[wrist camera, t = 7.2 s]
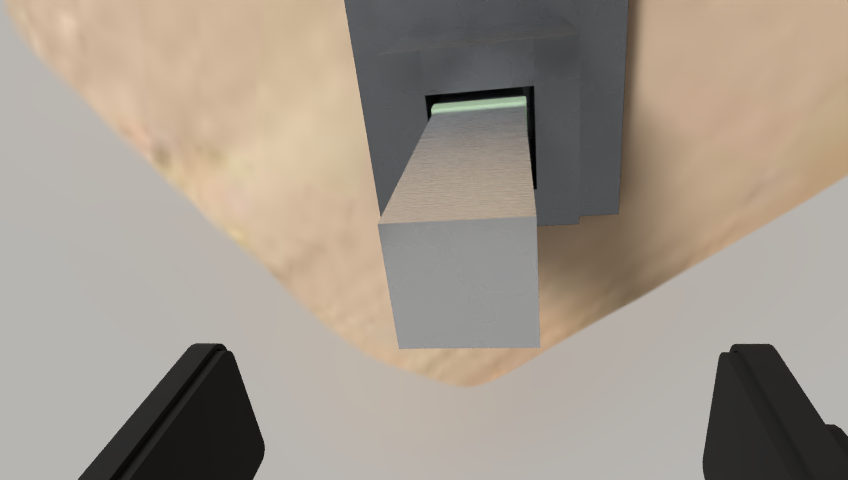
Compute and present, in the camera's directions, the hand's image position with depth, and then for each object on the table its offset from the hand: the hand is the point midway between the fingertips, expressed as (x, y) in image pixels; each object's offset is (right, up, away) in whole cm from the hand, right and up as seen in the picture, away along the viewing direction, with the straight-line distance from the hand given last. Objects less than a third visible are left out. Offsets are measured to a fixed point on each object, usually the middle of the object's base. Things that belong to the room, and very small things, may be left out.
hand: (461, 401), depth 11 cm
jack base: (+3, +12, +24) cm, 27 cm away
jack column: (+2, +9, +18) cm, 20 cm away
